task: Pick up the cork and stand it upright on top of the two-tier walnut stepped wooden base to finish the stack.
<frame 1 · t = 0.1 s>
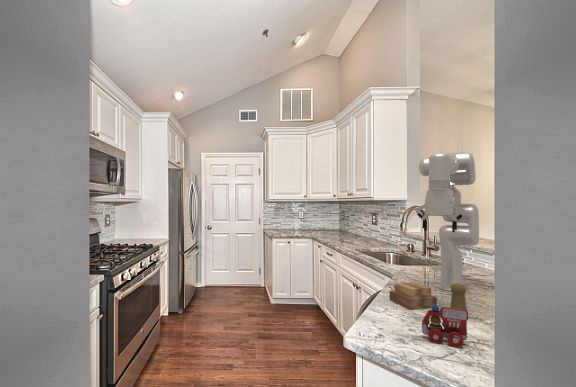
hand: (439, 231, 118), 31 cm above the countertop, tool pointing down, fingers open, 9 cm apart
stepped wooden base: (412, 303, 129), on the countertop
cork: (458, 314, 118), on the countertop
toy fire truck: (444, 341, 93), on the countertop
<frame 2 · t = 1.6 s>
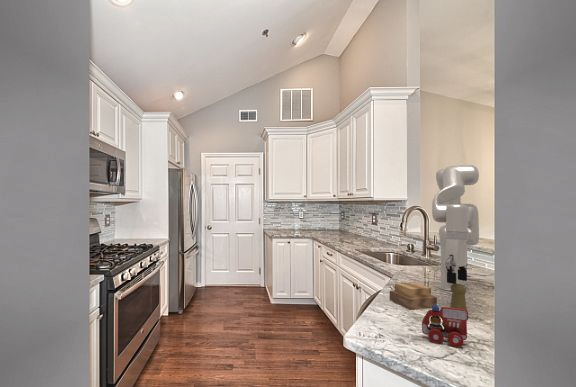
hand: (457, 281, 118), 12 cm above the countertop, tool pointing down, fingers open, 9 cm apart
nothing on the countertop moved.
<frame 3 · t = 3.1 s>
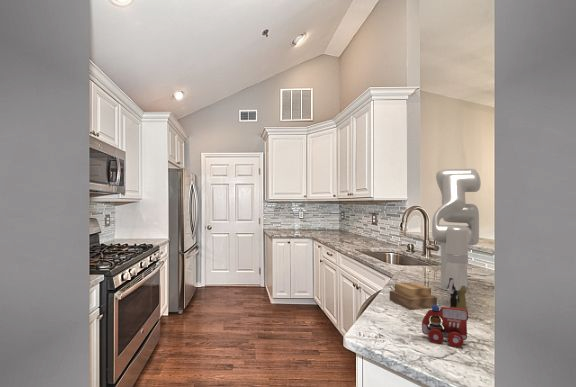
hand: (457, 307, 118), 2 cm above the countertop, tool pointing down, fingers closed on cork, 2 cm apart
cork: (458, 314, 118), on the countertop, touching gripper
everything else where it was.
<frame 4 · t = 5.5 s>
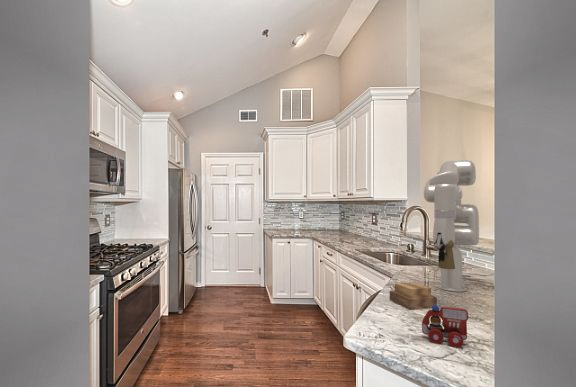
hand: (444, 261, 122), 19 cm above the countertop, tool pointing down, fingers closed on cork, 2 cm apart
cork: (446, 268, 121), point 16 cm above the countertop, touching gripper
everything else where it was.
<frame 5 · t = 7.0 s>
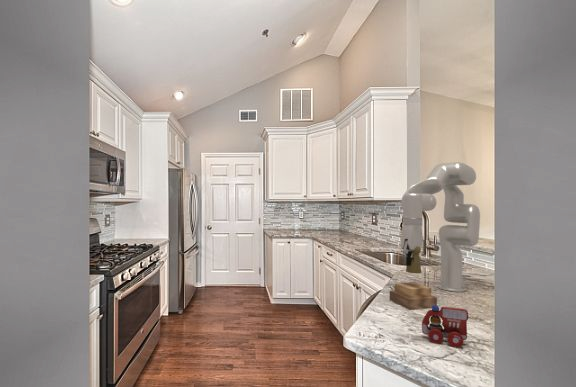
hand: (412, 266, 129), 15 cm above the countertop, tool pointing down, fingers closed on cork, 2 cm apart
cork: (413, 272, 129), point 13 cm above the countertop, touching gripper
everything else where it was.
when the fingers open (11 cm above the countertop, at t = 8.0 s): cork stays where it is, resting on stepped wooden base.
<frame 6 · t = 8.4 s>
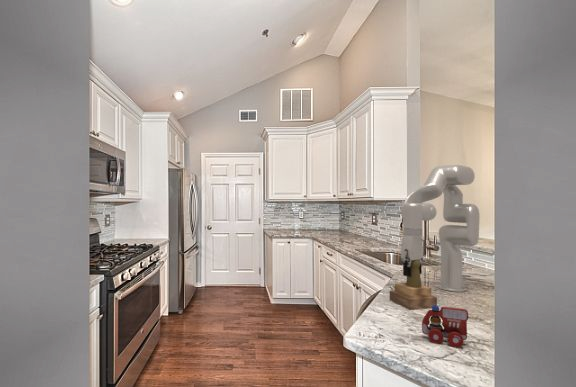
hand: (412, 274, 129), 12 cm above the countertop, tool pointing down, fingers open, 8 cm apart
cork: (413, 286, 129), point 7 cm above the countertop, touching stepped wooden base
everything else where it was.
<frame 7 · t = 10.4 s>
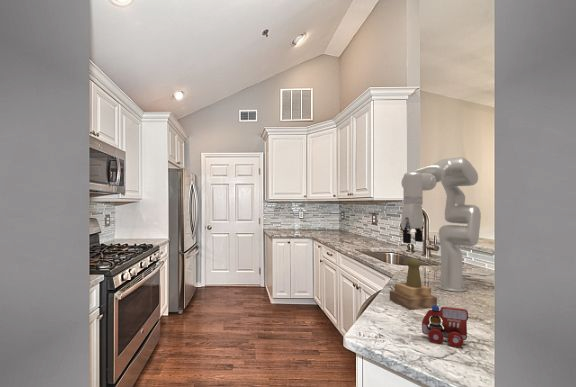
hand: (412, 242, 130), 25 cm above the countertop, tool pointing down, fingers open, 9 cm apart
nothing on the countertop moved.
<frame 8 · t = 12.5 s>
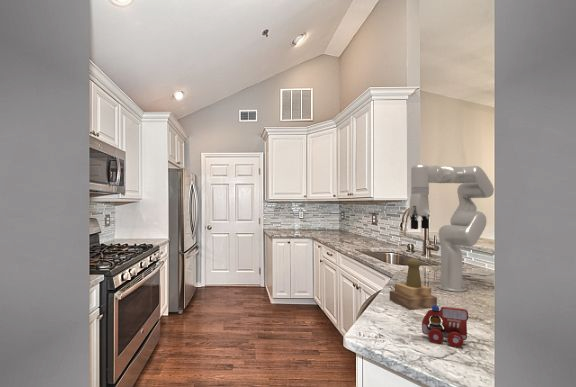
hand: (419, 228, 143), 30 cm above the countertop, tool pointing down, fingers open, 9 cm apart
nothing on the countertop moved.
at the end: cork 0.5 cm off-centre on the stepped wooden base, point 7.3 cm above the stepped wooden base's base; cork tilted 0°; the gripper is holding nothing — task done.
